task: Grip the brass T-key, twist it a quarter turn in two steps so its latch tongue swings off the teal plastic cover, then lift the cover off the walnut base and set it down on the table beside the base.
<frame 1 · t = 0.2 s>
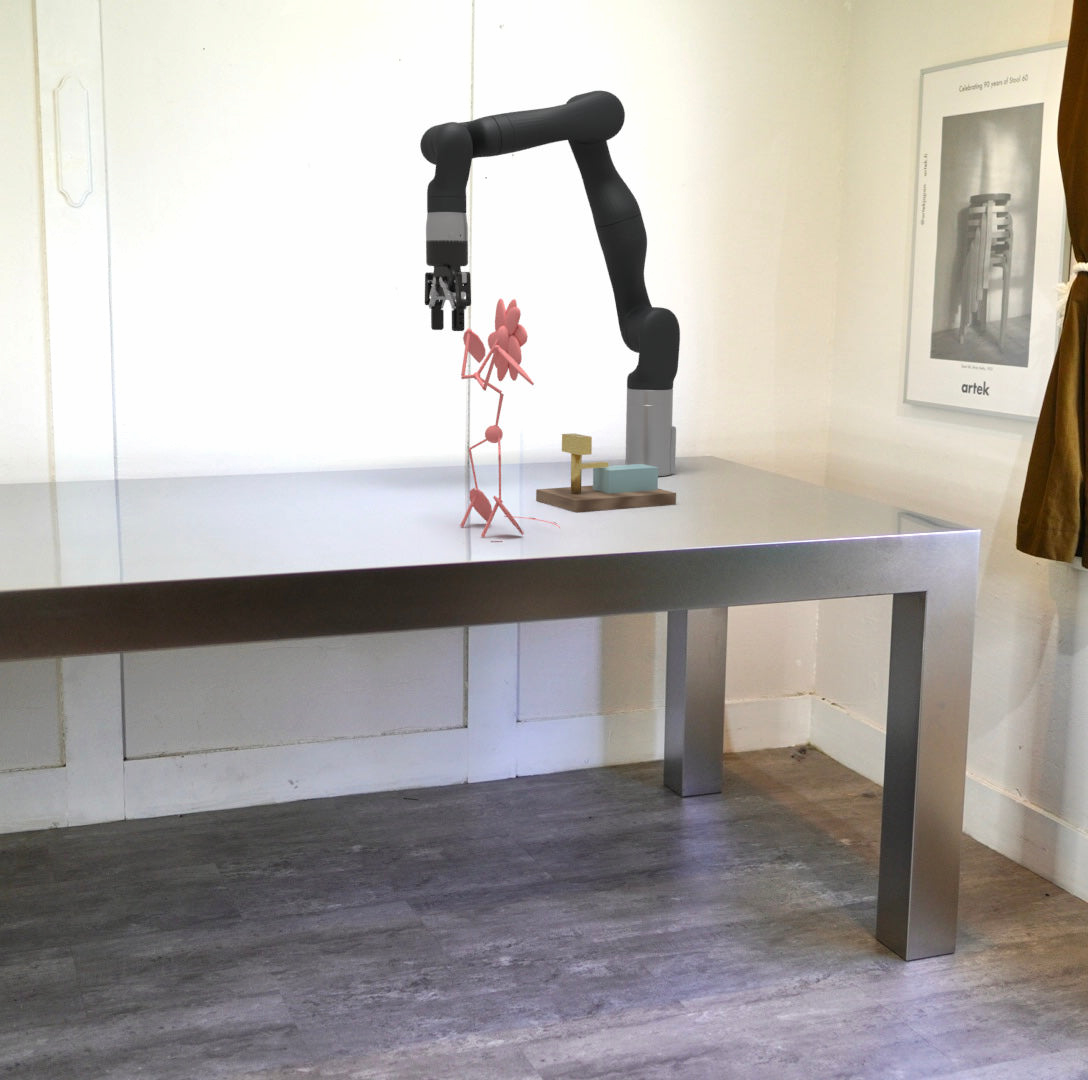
hand: (447, 330, 243), 29 cm above the table, fingers open, 8 cm apart
t key: (588, 463, 230), point 7 cm above the table, hinge at 0.0°
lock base: (605, 502, 233), on the table
cover: (625, 489, 234), point 2 cm above the table, touching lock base
pink stick flower: (512, 530, 205), on the table
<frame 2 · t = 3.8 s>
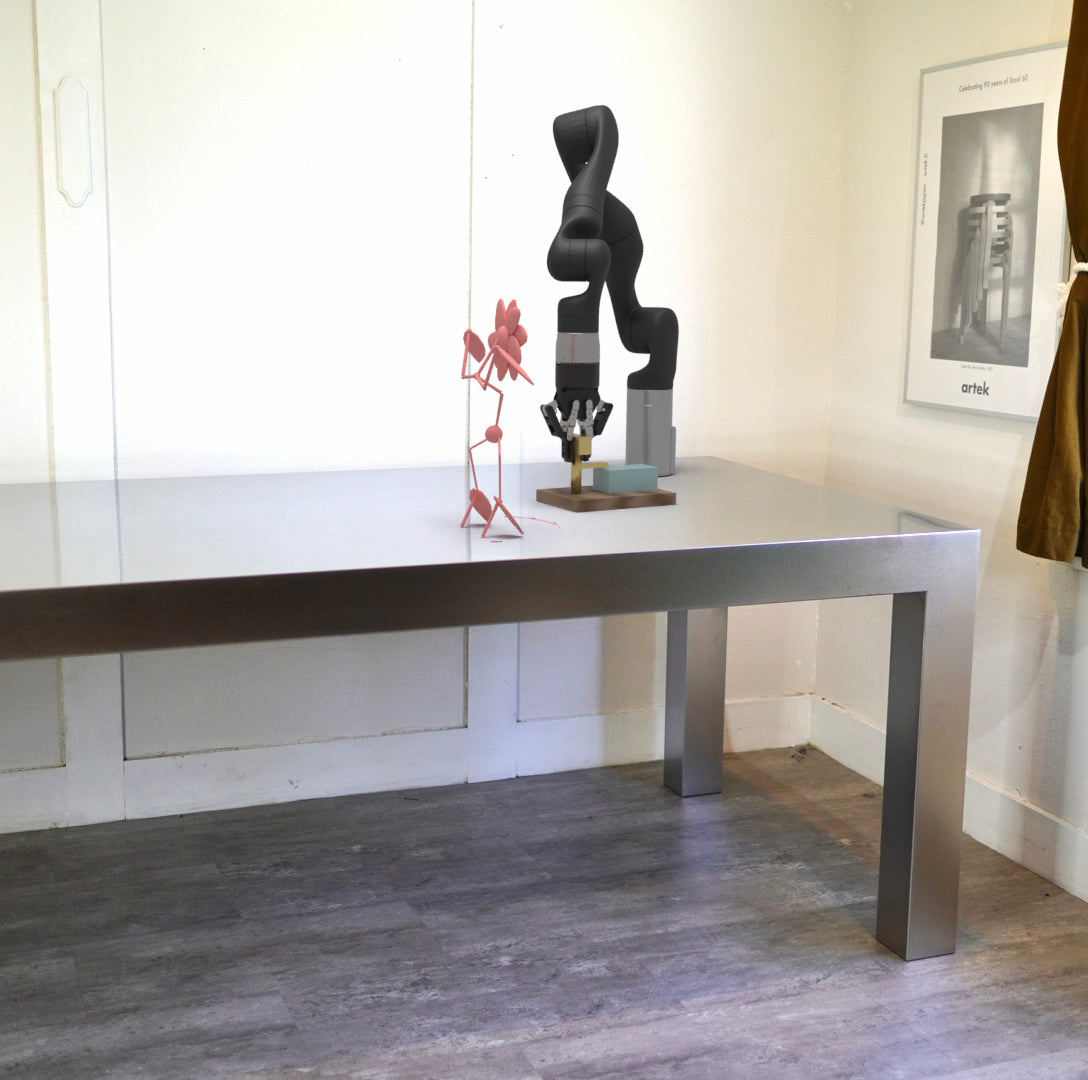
hand: (576, 461, 229), 8 cm above the table, fingers closed on t key, 2 cm apart
t key: (588, 463, 230), point 7 cm above the table, hinge at 0.0°, touching gripper
everything else where it was.
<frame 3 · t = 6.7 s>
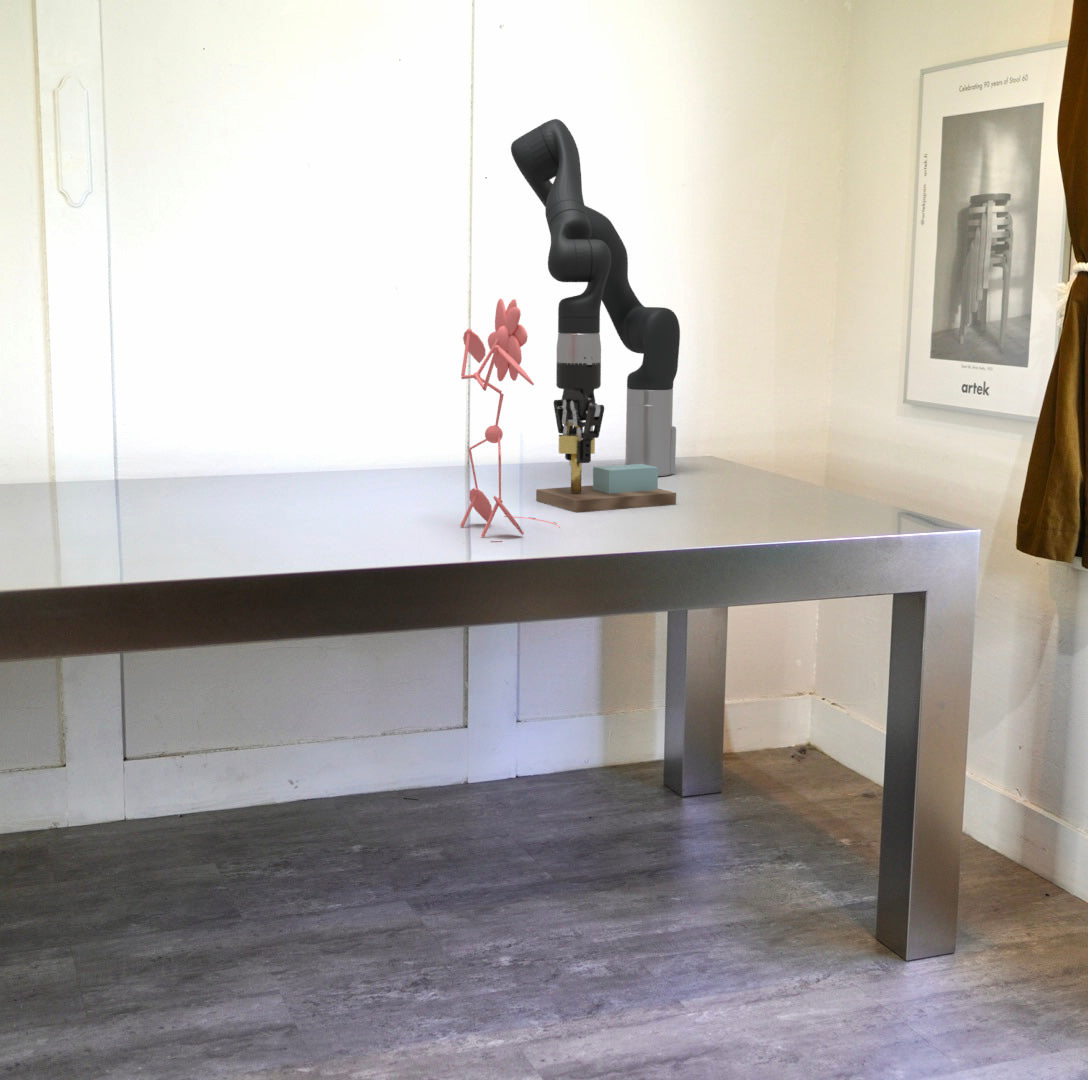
hand: (577, 460, 229), 8 cm above the table, fingers closed on t key, 3 cm apart
t key: (575, 462, 231), point 7 cm above the table, hinge at 64.5°, touching gripper
everything else where it was.
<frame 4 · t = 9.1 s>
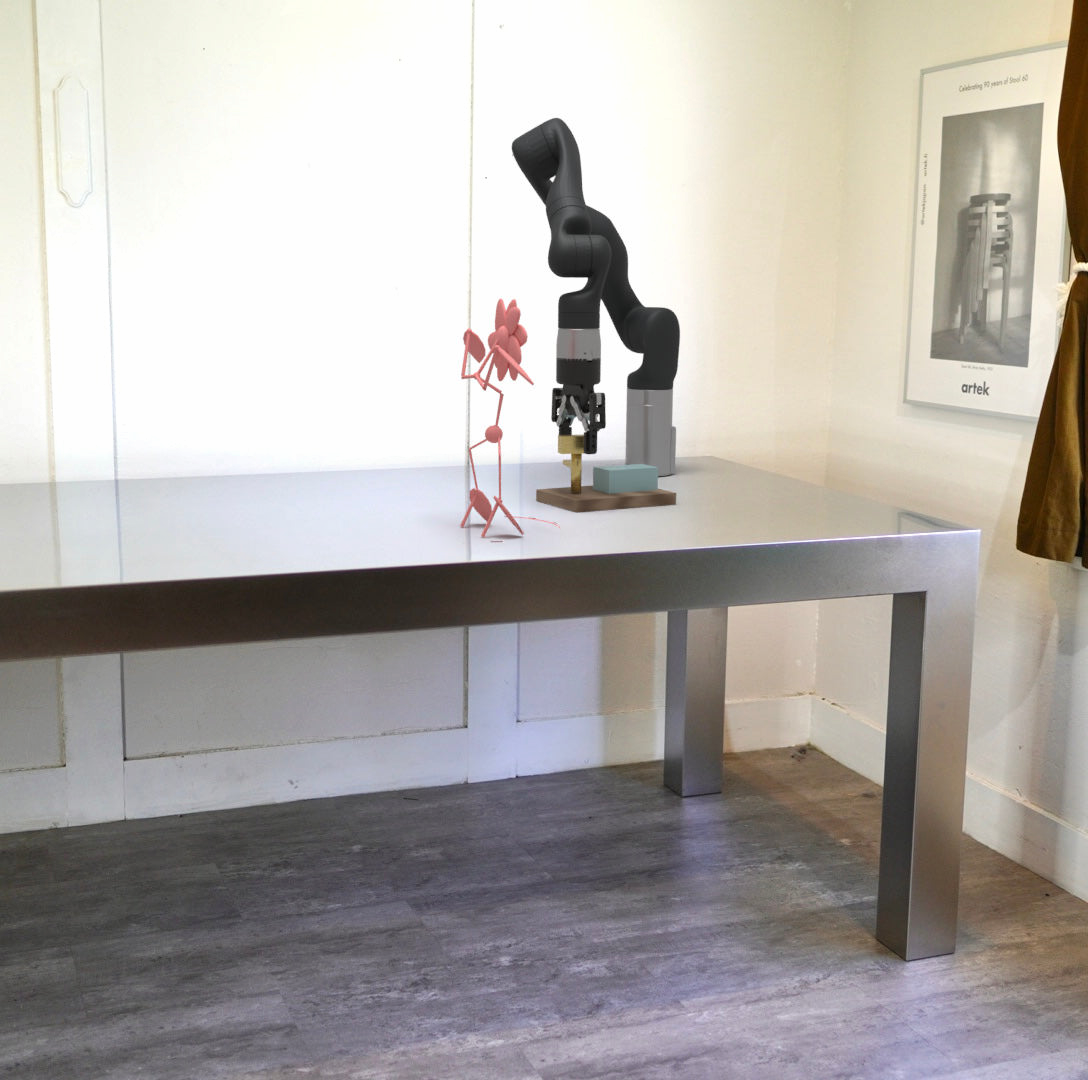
hand: (577, 451, 228), 9 cm above the table, fingers open, 8 cm apart
t key: (572, 462, 231), point 7 cm above the table, hinge at 75.4°
everything else where it was.
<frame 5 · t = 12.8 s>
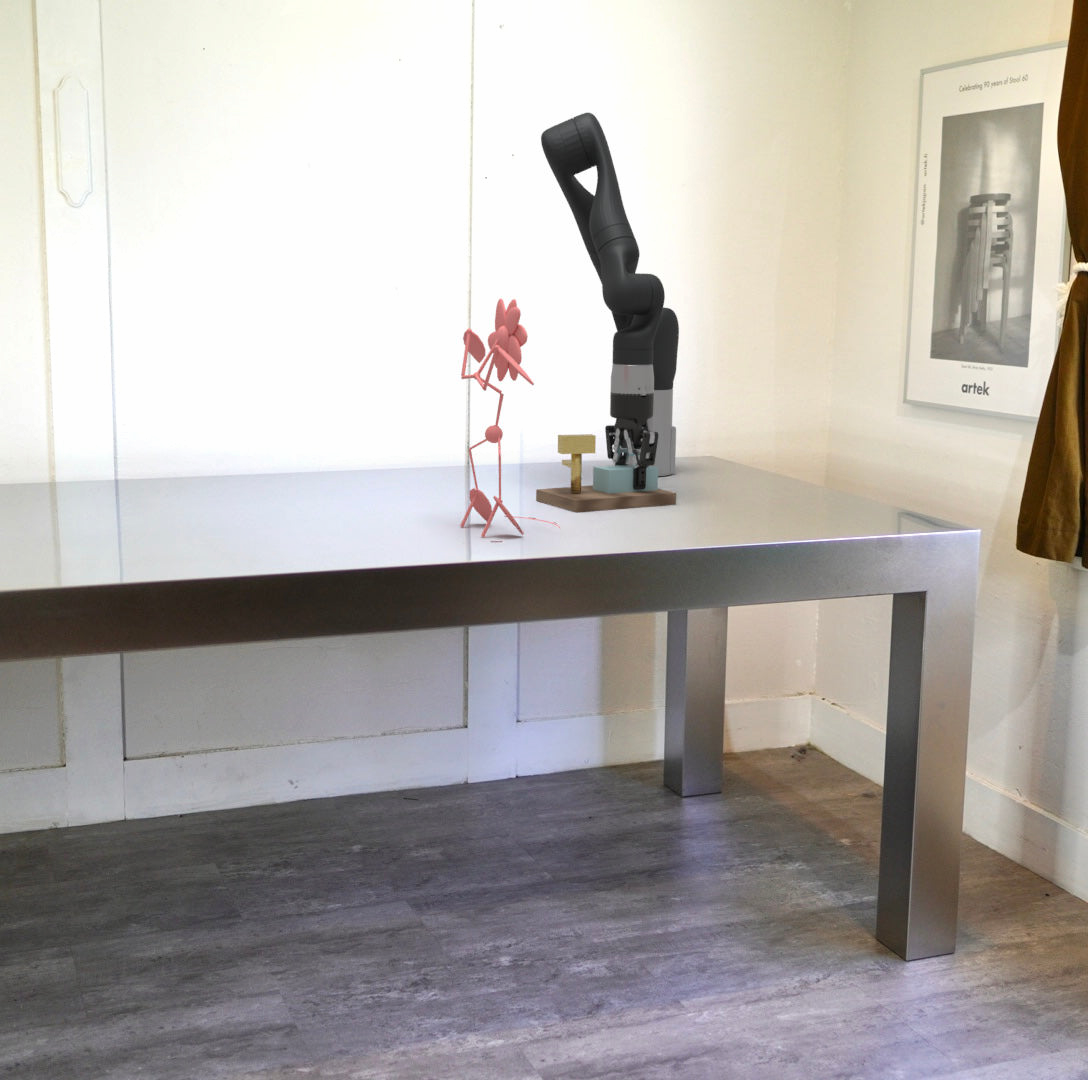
hand: (630, 486, 235), 2 cm above the table, fingers closed on cover, 5 cm apart
t key: (572, 462, 231), point 7 cm above the table, hinge at 77.0°
cover: (625, 489, 234), point 2 cm above the table, touching gripper, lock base
everything else where it was.
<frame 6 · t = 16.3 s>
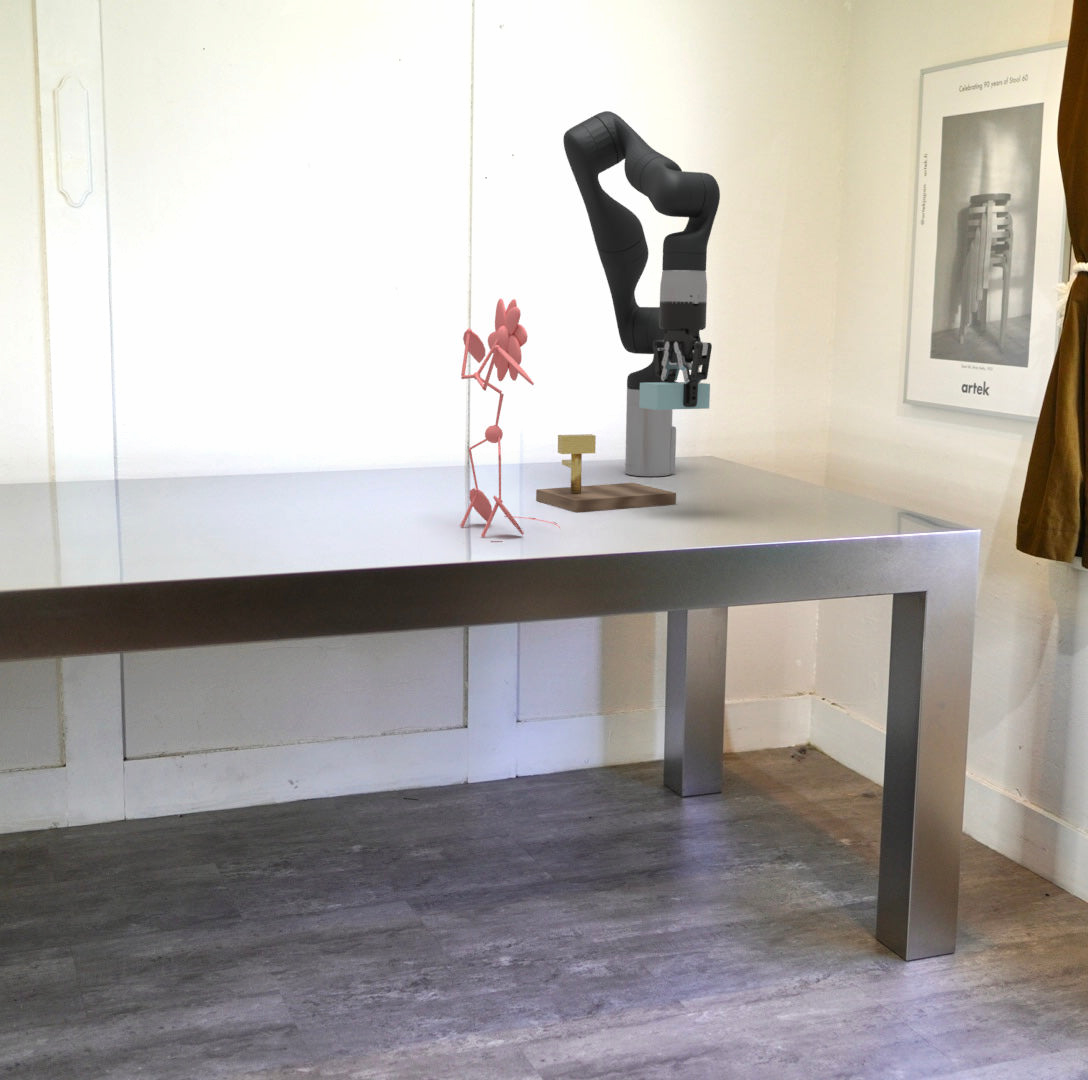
hand: (679, 404, 217), 18 cm above the table, fingers closed on cover, 5 cm apart
cover: (674, 407, 217), point 18 cm above the table, touching gripper
everything else where it was.
when the fingers open (2 cm above the table, at t = 19.9 s): cover drops 2 cm, on the table.
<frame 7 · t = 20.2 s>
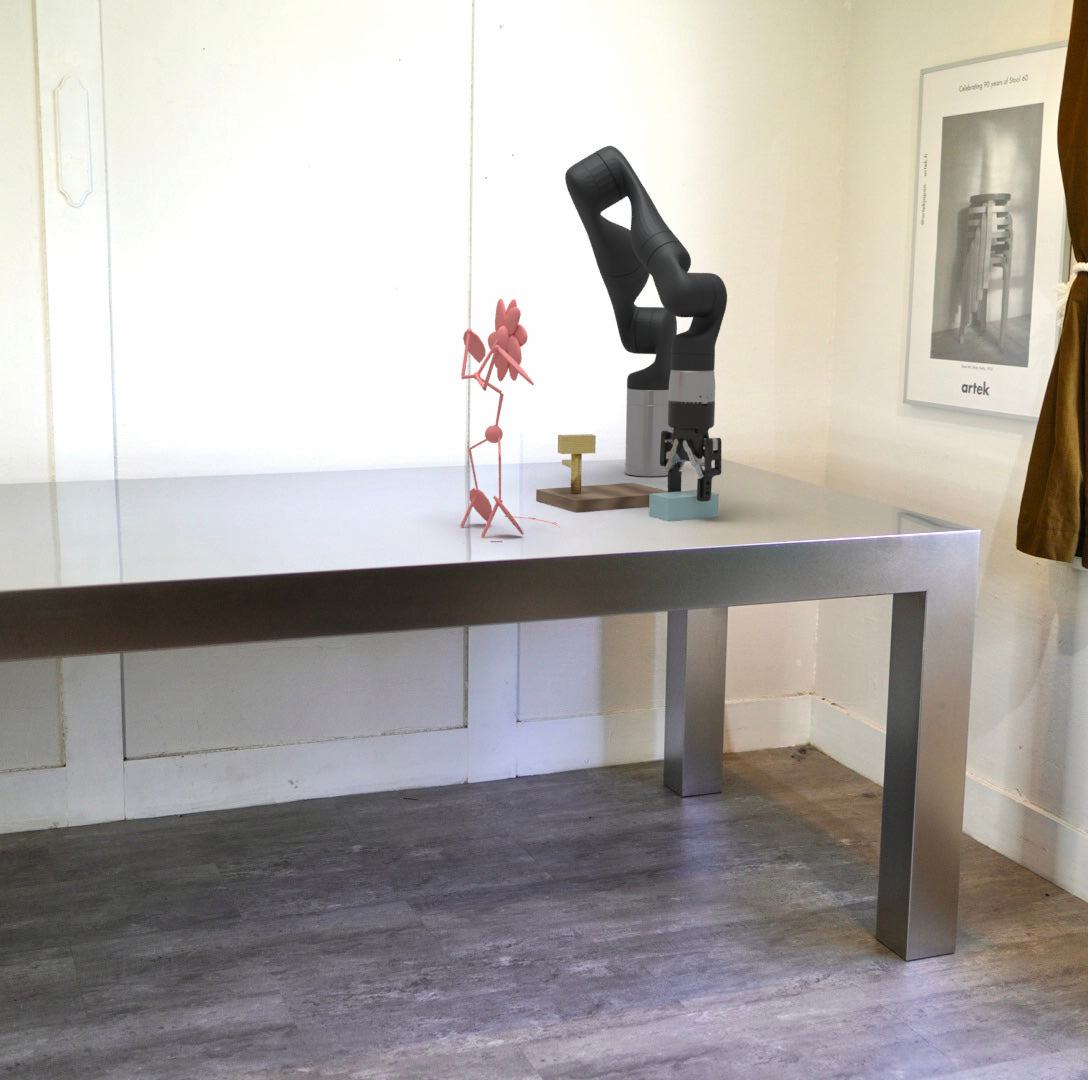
hand: (688, 497, 219), 3 cm above the table, fingers open, 8 cm apart
cover: (683, 518, 219), on the table
everything else where it was.
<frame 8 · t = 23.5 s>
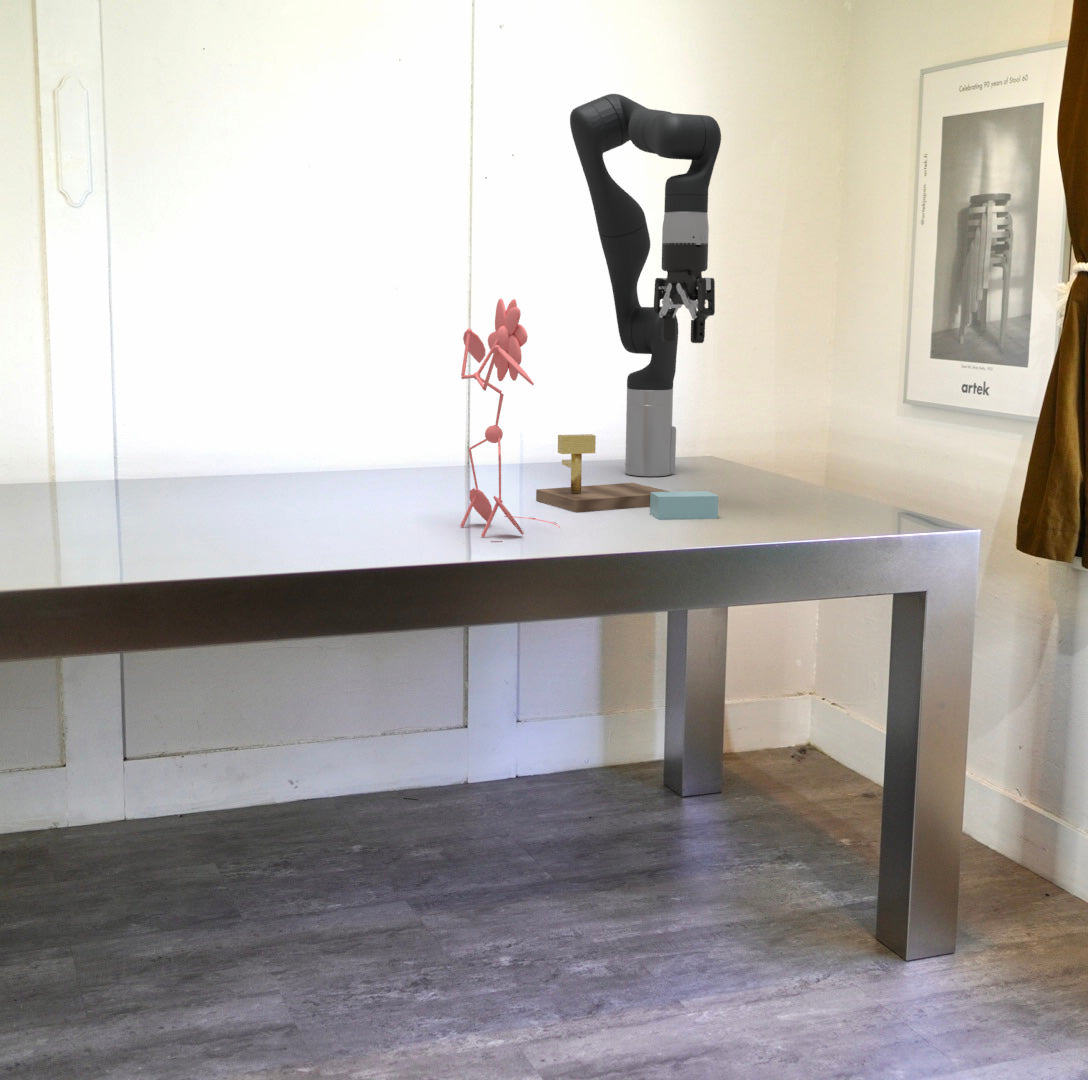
hand: (682, 341, 221), 28 cm above the table, fingers open, 8 cm apart
at the end: t key at +77° (first picture: +0°); cover inside the target area (1.0 cm from its centre), on the table; cover tilted 0° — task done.
